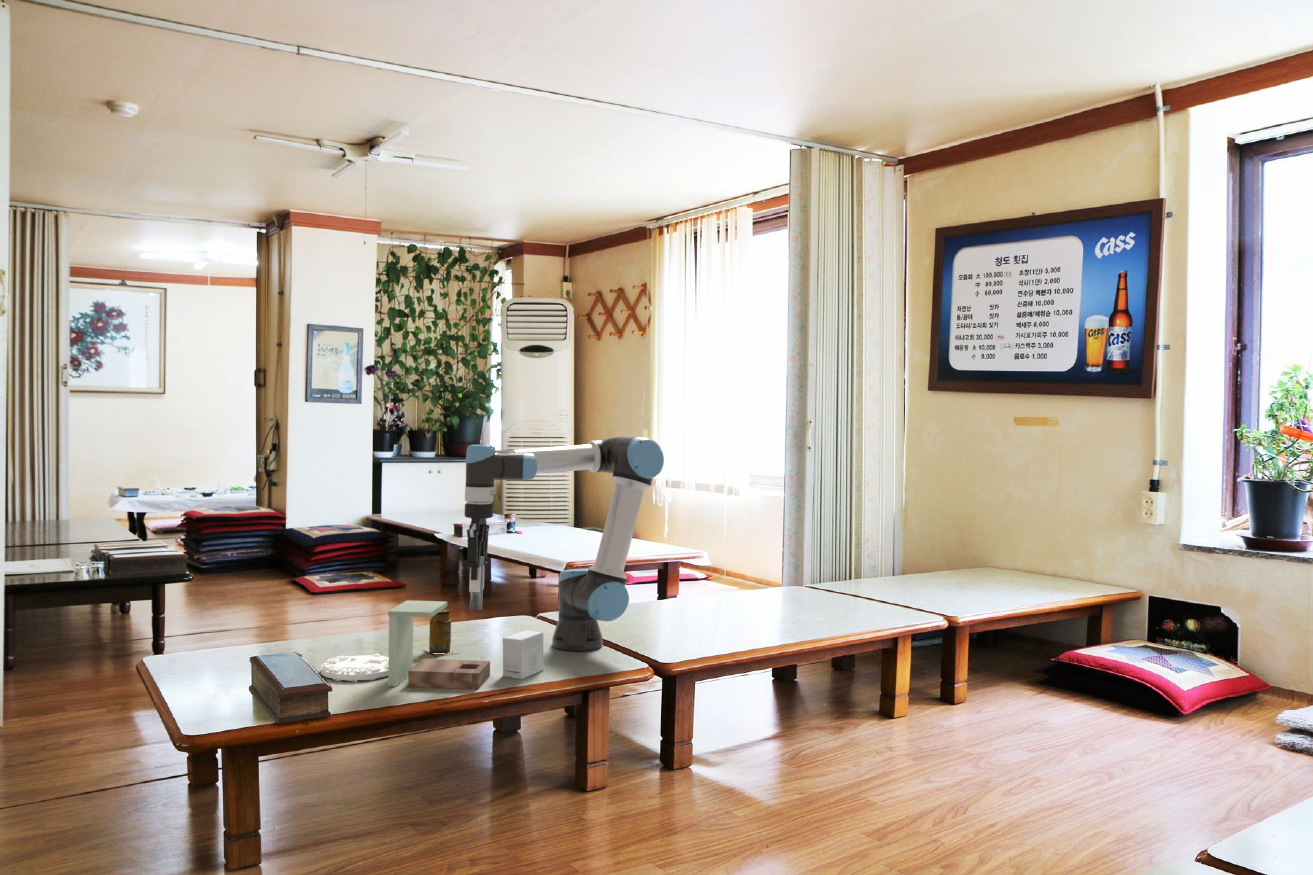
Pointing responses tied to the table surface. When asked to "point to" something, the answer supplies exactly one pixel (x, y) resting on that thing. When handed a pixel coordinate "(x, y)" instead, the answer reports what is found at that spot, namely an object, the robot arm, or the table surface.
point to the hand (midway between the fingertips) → (476, 590)
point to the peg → (477, 596)
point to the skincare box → (523, 654)
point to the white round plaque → (356, 667)
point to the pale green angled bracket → (405, 635)
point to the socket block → (449, 673)
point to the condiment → (440, 634)
